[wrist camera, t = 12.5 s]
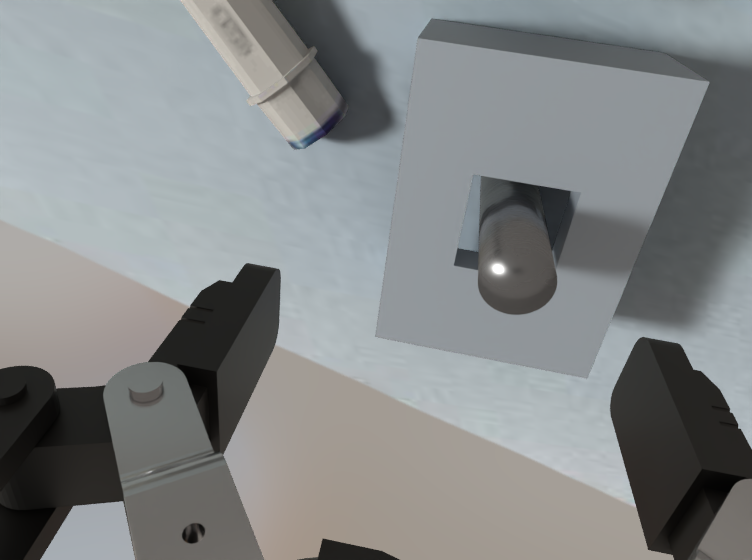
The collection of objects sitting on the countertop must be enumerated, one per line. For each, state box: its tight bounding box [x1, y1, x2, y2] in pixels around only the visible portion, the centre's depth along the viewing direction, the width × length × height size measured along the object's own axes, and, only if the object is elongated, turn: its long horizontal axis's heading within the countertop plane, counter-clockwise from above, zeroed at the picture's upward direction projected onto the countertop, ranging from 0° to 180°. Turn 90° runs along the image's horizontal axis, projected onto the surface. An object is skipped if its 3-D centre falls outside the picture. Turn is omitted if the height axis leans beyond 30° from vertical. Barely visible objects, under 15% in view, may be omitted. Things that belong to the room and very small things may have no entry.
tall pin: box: [478, 176, 557, 315], centre depth 28 cm, size 3×3×12 cm
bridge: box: [375, 19, 710, 378], centre depth 31 cm, size 12×16×7 cm
